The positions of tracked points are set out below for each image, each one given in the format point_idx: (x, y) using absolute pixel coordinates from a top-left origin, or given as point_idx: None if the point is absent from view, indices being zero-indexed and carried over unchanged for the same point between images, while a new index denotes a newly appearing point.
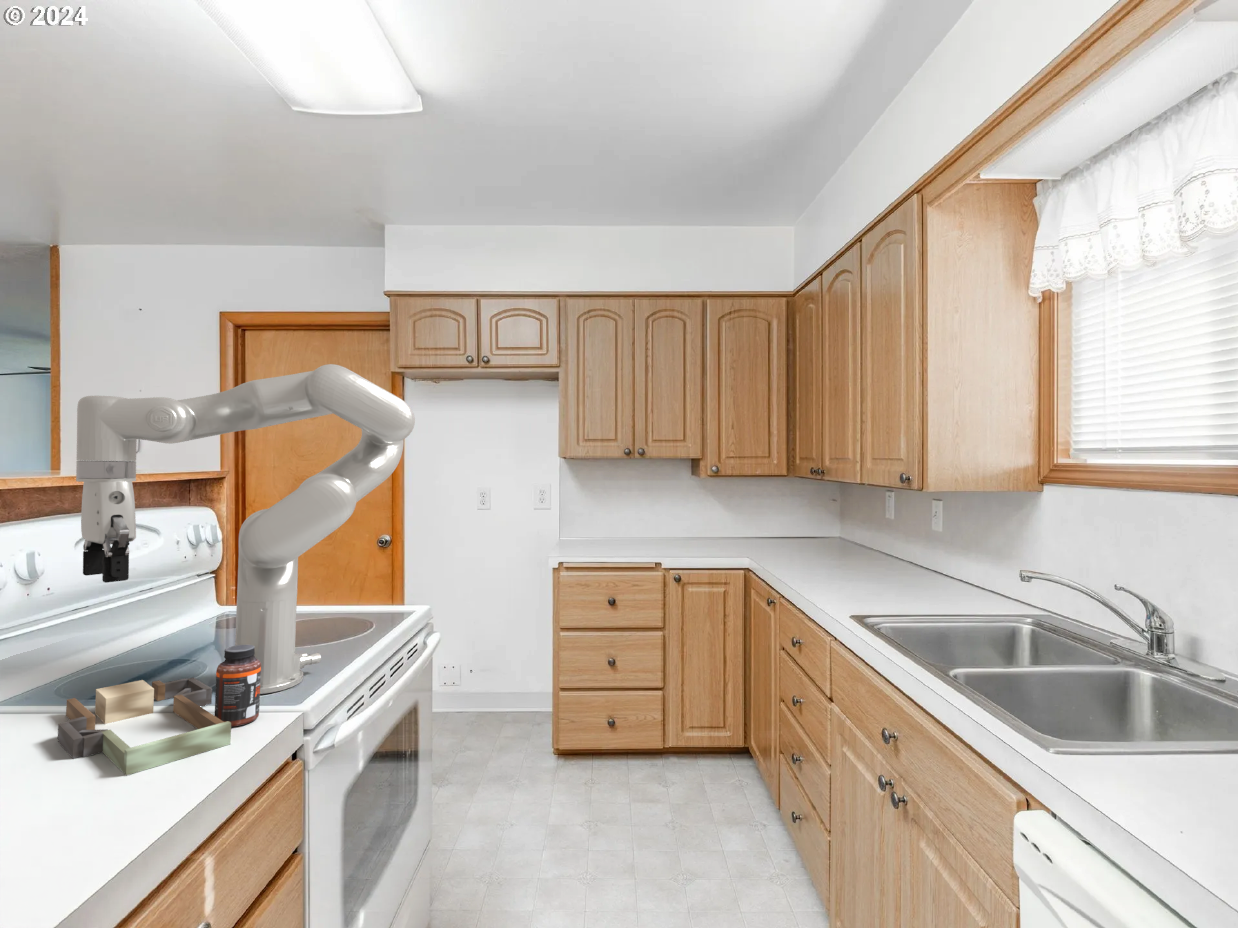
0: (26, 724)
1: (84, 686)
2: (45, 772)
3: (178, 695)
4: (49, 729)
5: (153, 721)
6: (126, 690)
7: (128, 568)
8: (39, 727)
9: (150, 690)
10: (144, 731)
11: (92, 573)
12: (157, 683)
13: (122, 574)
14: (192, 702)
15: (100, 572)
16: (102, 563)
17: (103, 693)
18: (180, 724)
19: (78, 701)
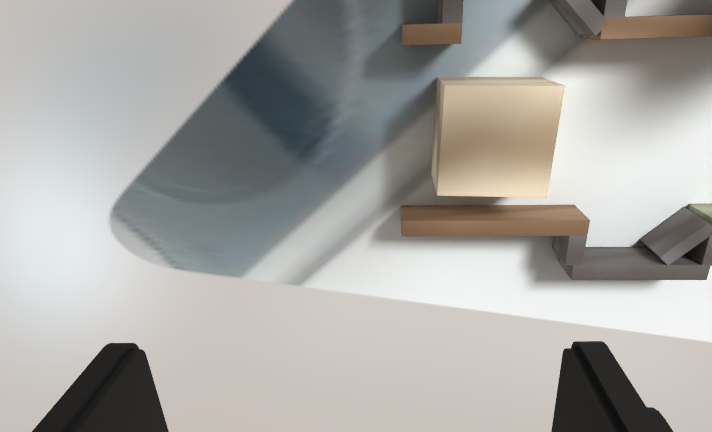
0: (398, 278)
1: (183, 145)
2: (703, 300)
3: (605, 26)
4: (467, 256)
5: (609, 95)
6: (516, 144)
7: (639, 403)
8: (438, 266)
9: (561, 94)
10: (659, 129)
11: (162, 417)
12: (434, 38)
13: (650, 412)
14: (709, 16)
15: (148, 382)
16: (110, 427)
17: (493, 191)
18: (694, 53)
19: (438, 221)
